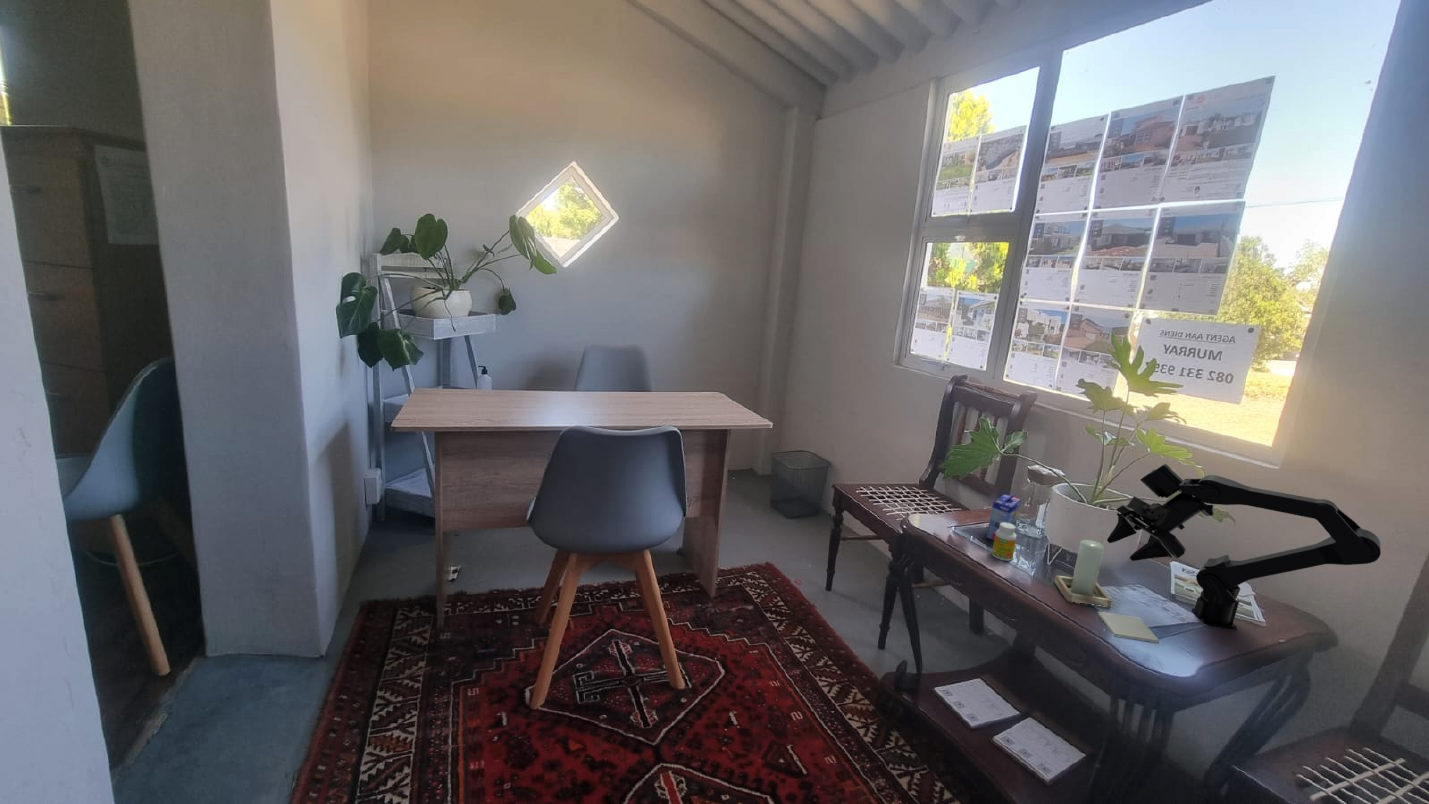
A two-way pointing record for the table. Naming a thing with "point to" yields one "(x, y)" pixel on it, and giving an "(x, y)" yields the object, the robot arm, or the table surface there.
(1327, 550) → the robot arm
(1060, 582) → the birch collar
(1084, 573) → the ceramic canister
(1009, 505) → the ink cartridge box
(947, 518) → the table surface
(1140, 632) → the cream square tile
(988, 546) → the table surface
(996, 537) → the supplement bottle
